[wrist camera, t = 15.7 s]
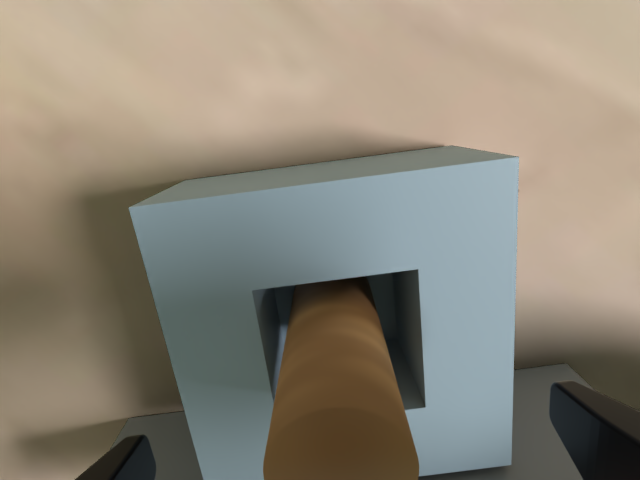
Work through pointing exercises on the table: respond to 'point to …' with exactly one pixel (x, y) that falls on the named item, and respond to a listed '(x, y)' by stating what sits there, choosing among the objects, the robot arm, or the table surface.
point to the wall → (521, 476)
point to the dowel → (337, 392)
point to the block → (332, 264)
